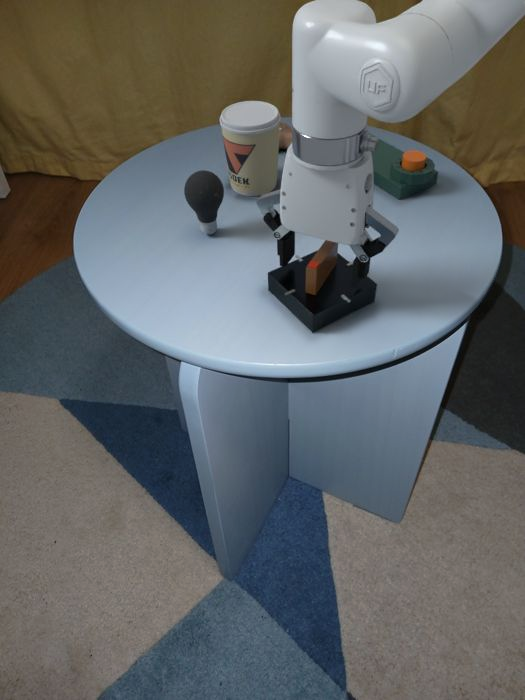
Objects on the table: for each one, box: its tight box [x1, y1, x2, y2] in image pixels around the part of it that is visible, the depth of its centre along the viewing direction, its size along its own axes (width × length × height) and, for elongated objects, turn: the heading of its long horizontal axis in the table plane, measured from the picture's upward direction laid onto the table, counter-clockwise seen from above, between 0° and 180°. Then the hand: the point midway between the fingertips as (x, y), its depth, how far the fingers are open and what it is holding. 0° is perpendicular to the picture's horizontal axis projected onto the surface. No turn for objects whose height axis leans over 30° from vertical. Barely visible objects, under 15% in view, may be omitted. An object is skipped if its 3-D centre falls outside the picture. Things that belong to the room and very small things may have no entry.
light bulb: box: [183, 169, 225, 236], centre depth 80 cm, size 6×6×10 cm
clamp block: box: [267, 249, 378, 334], centre depth 72 cm, size 11×11×3 cm
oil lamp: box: [279, 121, 292, 150], centre depth 100 cm, size 9×4×8 cm
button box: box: [369, 132, 439, 200], centre depth 93 cm, size 19×8×4 cm, turn 33°
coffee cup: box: [219, 100, 282, 197], centre depth 88 cm, size 9×9×12 cm
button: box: [401, 149, 427, 171], centre depth 87 cm, size 4×4×2 cm
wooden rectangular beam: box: [306, 240, 339, 295], centre depth 69 cm, size 7×1×4 cm, turn 153°
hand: (321, 270), depth 70 cm, fingers open, 9 cm apart
